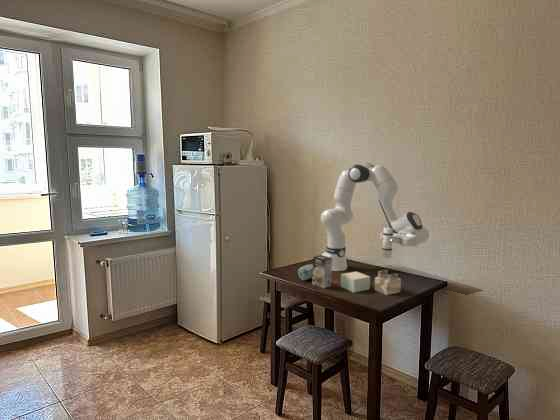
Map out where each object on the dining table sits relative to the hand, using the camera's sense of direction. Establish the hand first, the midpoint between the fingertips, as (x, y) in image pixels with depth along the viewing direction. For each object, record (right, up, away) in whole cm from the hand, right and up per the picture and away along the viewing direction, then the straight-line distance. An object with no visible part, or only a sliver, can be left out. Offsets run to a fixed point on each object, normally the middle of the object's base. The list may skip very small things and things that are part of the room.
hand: (386, 239), depth 203 cm
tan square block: (+1, -27, +3) cm, 28 cm away
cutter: (-22, -26, +11) cm, 36 cm away
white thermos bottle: (+1, -9, +2) cm, 9 cm away
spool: (-39, -25, +24) cm, 52 cm away
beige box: (-15, -27, +8) cm, 32 cm away
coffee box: (-33, -26, +11) cm, 43 cm away
